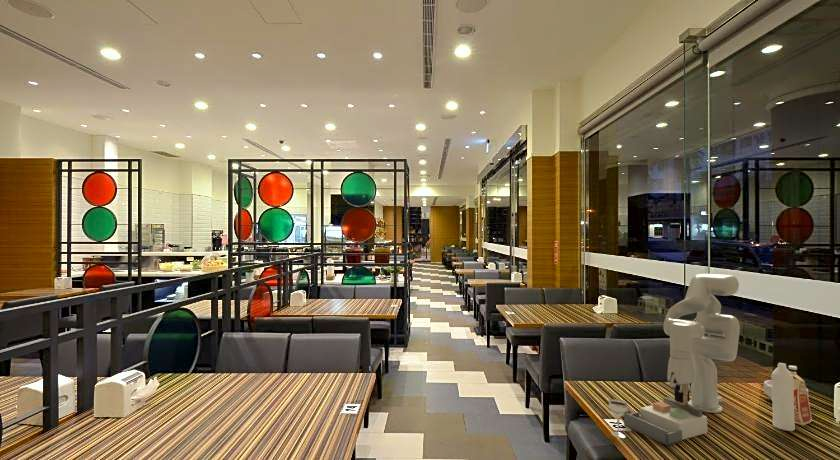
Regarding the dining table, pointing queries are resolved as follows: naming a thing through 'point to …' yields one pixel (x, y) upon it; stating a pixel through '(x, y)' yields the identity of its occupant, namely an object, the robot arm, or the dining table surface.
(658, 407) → the terracotta tile
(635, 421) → the tray
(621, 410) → the wineglass
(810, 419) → the milk carton
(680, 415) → the green tile
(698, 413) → the scraper
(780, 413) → the water bottle
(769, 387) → the paper bowls
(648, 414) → the white flat square block
